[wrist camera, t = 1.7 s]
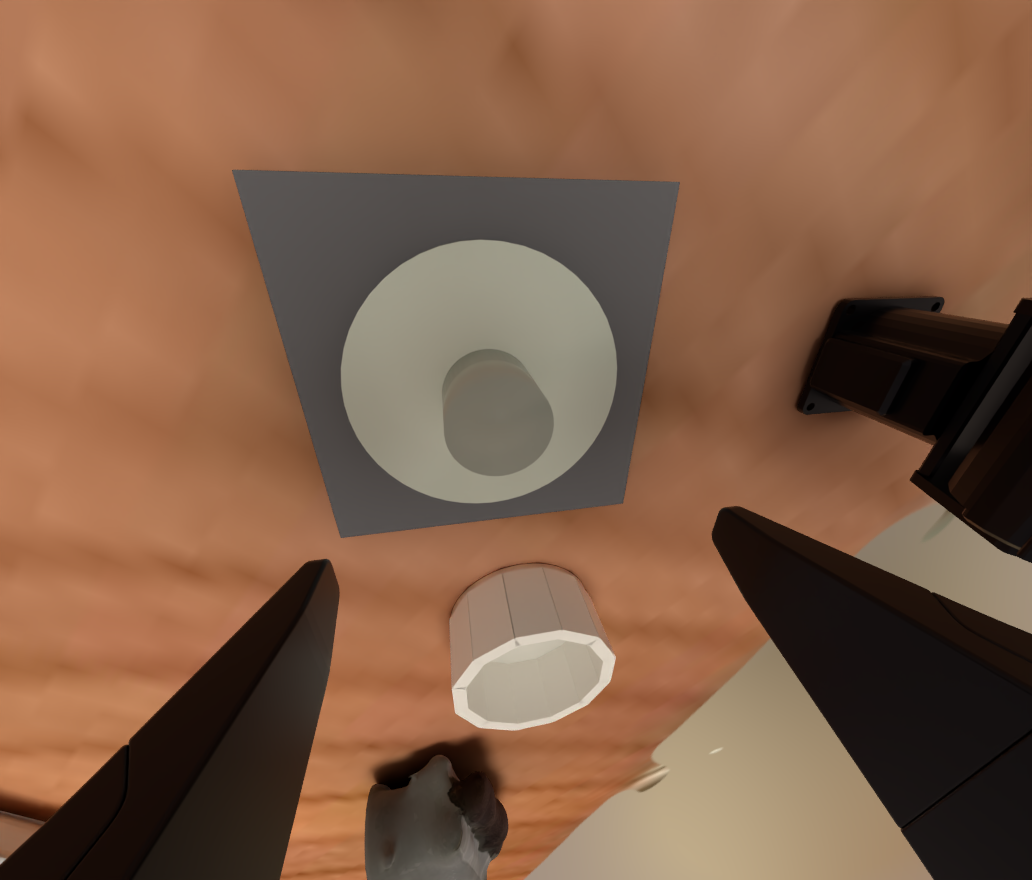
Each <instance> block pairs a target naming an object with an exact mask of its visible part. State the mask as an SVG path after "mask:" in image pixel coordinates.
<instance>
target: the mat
mask: <svg viewBox="0 0 1032 880" xmlns="http://www.w3.org/2000/svg"><path fill="white" fill-rule="evenodd" d="M232 172H233V175H234V179H235V182H236V185H237V189H238V192H239V195H240V199H241V202H242V206H243V209H244V212H245V216H246V219H247V222H248V226H249V229H250V233H251V236H252V239H253V243H254V246H255V250H256V253H257V256H258V260H259V263H260V266H261V270H262V273H263V277H264V280H265V283H266V287H267V290H268V293H269V297H270V300H271V304H272V307H273V310H274V314H275V317H276V321H277V324H278V327H279V331H280V334H281V337H282V341H283V344H284V348H285V351H286V354H287V358H288V361H289V364H290V368H291V371H292V375H293V378H294V381H295V385H296V388H297V392H298V395H299V398H300V402H301V405H302V408H303V412H304V415H305V419H306V422H307V425H308V429H309V432H310V435H311V439H312V442H313V446H314V449H315V452H316V456H317V459H318V462H319V466H320V469H321V473H322V476H323V479H324V483H325V486H326V490H327V493H328V496H329V500H330V503H331V506H332V510H333V513H334V517H335V520H336V523H337V527H338V530H339V533H340V537H341V538H344V537H353V536H361V535H369V534H377V533H385V532H393V531H402V530H410V529H418V528H426V527H434V526H442V525H451V524H459V523H467V522H475V521H483V520H491V519H499V518H508V517H516V516H524V515H532V514H540V513H548V512H557V511H565V510H573V509H581V508H589V507H597V506H606V505H614V504H622V503H623V500H624V494H625V489H626V483H627V477H628V472H629V466H630V461H631V455H632V449H633V444H634V438H635V432H636V427H637V421H638V415H639V410H640V404H641V398H642V393H643V387H644V382H645V376H646V370H647V365H648V359H649V353H650V348H651V342H652V336H653V331H654V325H655V319H656V314H657V308H658V303H659V297H660V291H661V286H662V280H663V274H664V269H665V263H666V257H667V252H668V246H669V241H670V235H671V229H672V224H673V218H674V212H675V207H676V201H677V195H678V190H679V184H680V182H659V181H622V180H586V179H549V178H513V177H476V176H440V175H404V174H367V173H331V172H294V171H258V170H232ZM478 239H481V240H495V241H504V242H509V243H513V244H518V245H522V246H526V247H528V248H531V249H533V250H536V251H539V252H541V253H543V254H545V255H547V256H549V257H551V258H552V259H554V260H556V261H558V262H559V263H561V264H562V265H564V266H565V267H566V268H567V269H569V270H570V271H571V272H572V273H574V274H575V275H576V276H577V277H578V278H579V279H580V280H581V281H582V282H583V283H584V284H585V285H586V286H587V287H588V288H589V290H590V291H591V293H592V294H593V296H594V297H595V298H596V300H597V301H598V303H599V304H600V306H601V308H602V310H603V312H604V314H605V316H606V318H607V320H608V323H609V326H610V329H611V332H612V335H613V339H614V344H615V349H616V359H617V377H616V387H615V392H614V397H613V402H612V405H611V408H610V411H609V414H608V416H607V418H606V421H605V423H604V425H603V427H602V429H601V431H600V432H599V434H598V436H597V437H596V439H595V441H594V442H593V444H592V445H591V446H590V447H589V449H588V450H587V451H586V452H585V454H584V455H583V456H582V457H581V458H580V459H579V460H578V461H577V462H576V463H575V464H574V465H573V466H572V467H571V468H569V469H568V470H567V471H566V472H565V473H563V474H562V475H561V476H559V477H558V478H556V479H555V480H553V481H552V482H550V483H549V484H547V485H545V486H543V487H541V488H539V489H537V490H535V491H532V492H530V493H527V494H525V495H522V496H519V497H516V498H512V499H508V500H503V501H498V502H491V503H460V502H453V501H446V500H442V499H439V498H435V497H431V496H428V495H426V494H423V493H421V492H418V491H416V490H414V489H412V488H410V487H408V486H406V485H404V484H403V483H401V482H400V481H398V480H397V479H395V478H394V477H392V476H391V475H389V474H388V473H387V472H386V471H385V470H384V469H383V468H382V467H380V466H379V465H378V464H377V463H376V462H375V460H374V459H373V458H372V457H371V456H370V455H369V454H368V452H367V451H366V450H365V448H364V447H363V445H362V444H361V442H360V441H359V439H358V438H357V436H356V434H355V432H354V430H353V428H352V426H351V423H350V421H349V418H348V415H347V412H346V409H345V406H344V401H343V394H342V388H341V364H342V356H343V349H344V345H345V342H346V339H347V335H348V332H349V329H350V327H351V325H352V323H353V321H354V318H355V316H356V314H357V312H358V310H359V309H360V307H361V306H362V304H363V303H364V301H365V300H366V298H367V297H368V296H369V294H370V293H371V292H372V291H373V290H374V289H375V288H376V287H377V285H378V284H379V283H380V282H381V281H382V280H383V279H384V278H385V277H386V276H387V275H388V274H390V273H391V272H392V271H393V270H395V269H396V268H397V267H398V266H400V265H401V264H402V263H404V262H406V261H407V260H409V259H411V258H412V257H414V256H416V255H418V254H419V253H422V252H424V251H427V250H429V249H432V248H434V247H437V246H439V245H444V244H448V243H452V242H457V241H465V240H478Z"/></svg>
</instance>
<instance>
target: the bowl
mask: <svg viewBox="0 0 1032 880" xmlns="http://www.w3.org/2000/svg"><path fill="white" fill-rule="evenodd" d="M449 626H450V652H451V679H452V693H453V700H454V707H455V713H456V714H457V715H459V716H461V717H462V718H464V719H466V720H467V721H469V722H470V723H472V724H474V725H475V726H477V727H478V728H479V727H480V728H487V729H500V730H513V731H514V730H520V729H524V728H529V727H533V726H538V725H543V724H547V723H552V722H555V721H557V720H559V719H560V718H562V717H564V716H566V715H568V714H570V713H572V712H574V711H576V710H578V709H580V708H582V707H584V706H586V705H587V704H589V703H590V702H591V701H592V700H593V699H594V698H595V697H596V696H597V695H598V694H599V693H600V692H601V691H602V690H603V689H604V688H605V687H606V686H607V685H608V684H609V682H610V681H611V677H612V672H613V668H614V663H615V658H616V657H615V654H614V652H613V650H612V647H611V645H610V642H609V640H608V638H607V635H606V633H605V631H604V628H603V626H602V624H601V621H600V619H599V617H598V614H597V612H596V610H595V607H594V605H593V602H592V600H591V598H590V596H589V594H588V593H587V592H586V590H585V589H584V586H583V585H582V583H581V581H580V580H579V579H578V578H577V577H576V576H575V575H573V574H572V573H571V572H569V571H567V570H565V569H563V568H560V567H558V566H554V565H549V564H540V563H530V564H520V565H515V566H510V567H507V568H503V569H500V570H498V571H495V572H493V573H491V574H489V575H487V576H485V577H483V578H481V579H480V580H478V581H476V582H475V583H474V584H472V585H471V586H470V587H469V588H468V589H467V590H466V591H465V592H464V593H463V594H462V595H461V596H460V597H459V599H458V600H457V602H456V604H455V605H454V607H453V610H452V613H451V617H450V619H449Z"/></svg>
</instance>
